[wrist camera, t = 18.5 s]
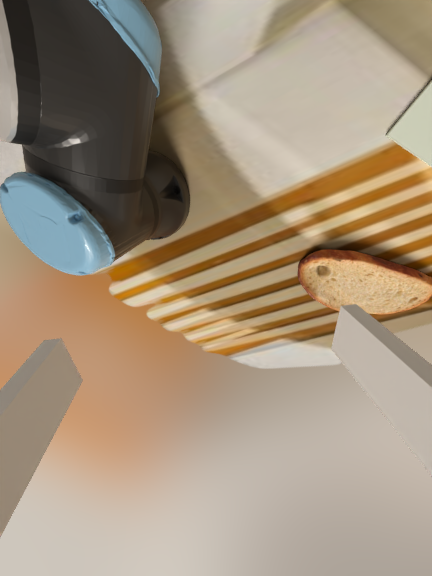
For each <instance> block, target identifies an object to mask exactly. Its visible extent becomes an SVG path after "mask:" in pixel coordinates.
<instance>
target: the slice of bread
mask: <svg viewBox="0 0 432 576" xmlns="http://www.w3.org/2000/svg"><path fill="white" fill-rule="evenodd" d="M298 279H299V281H300V283H301V285H302V286H303V288H304V289H305V290H306V291H307V293H308V294H309V295H310V296H311V297H312V298H313V299H315V300H317V301H318V302H320V303H322V304H323V305H325V306H327V307H330V308H332V309H335V310H338V311H340V308H341V306H344V305H352V304H357V305H358V306H359V307H360V308H362V309H363V310H364V311H365V312H367V313H372V314H373V313H374V314H390V313H396V312H400V311H405V310H410V309H412V308H414V307H416V306H419V305H421V304H422V303H424V302H426V301H428V300H429V298H430V297H431V296H432V277H430V276H427V275H426V274H424V273H421V272H419V271H417V270H415V269H413V268H409V267H407V266H404V265H400V264H396V263H393V262H390V261H387V260H384V259H381V258H378V257H375V256H372V255H368V254H364V253H360V252H356V251H351V250H347V251H343V250H333V249H324V250H319V251H316V252H314V253H311V254H309V255H308V256H307V257H306V258H304V259H303V260H301V261H300V262H299V265H298Z"/></svg>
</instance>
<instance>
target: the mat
mask: <svg viewBox="0 0 432 576" xmlns="http://www.w3.org/2000/svg"><path fill="white" fill-rule="evenodd" d="M385 136H387V137H388V138H390V139H391V140H393V141H394V142H395V143H397V144H398V145H400V146H401V147H403V148H404V149H406V150H407V151H408V152H410V153H411V154H413V155H414V156H416V157H417V158H419V159H420V160H421V161H423V162H424V163H426V164H427V165H429V166H430V167H432V80H431V81H430V82H429V84H428V85H427V86H426V87H425V89H424V90H423V91H422V92H421V93H420V95H419V96H418V97H417V98H416V99H415V101H414V102H413V103H412V104H411V105H410V107H409V108H408V109H407V110H406V111H405V113H404V114H403V115H402V116H401V117H400V119H399V120H398V121H397V122H396V123H395V125H394V126H393V127H392V128H391V129H390V131H389V132H388V133H387V134H386V135H385Z"/></svg>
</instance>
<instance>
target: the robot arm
mask: <svg viewBox="0 0 432 576" xmlns="http://www.w3.org/2000/svg"><path fill="white" fill-rule="evenodd" d="M161 56H162V44H161V39H160V36H159V31H158V28H157V26H156V23H155V21H154V19H153V18H152V16H151V14H150V13H149V11H148V10H147V8H146V7H145V6H144V4H143V3H142V2H141V1H140V0H0V141H4V142H9V143H16V144H22V147H23V154H24V161H25V168H26V172H17V173H14V174H13V175H12V176H10V177H8V178H6V179H5V181H4V183H3V184H2V185H1V187H0V204H1V207H2V210H3V213H4V215H5V217H6V219H7V221H8V223H9V225H10V226H11V228H12V229H13V231H14V232H15V234H16V235H17V236H18V237H19V239H20V240H21V241H22V242H23V243H24V244H25V245H26V246H27V247H28V248H29V249H30V251H31V252H33V253H34V254H35V255H36V256H37V257H38V258H40V259H41V260H42V261H44V262H45V263H47V264H48V265H50V266H52V267H54V268H55V269H58V270H60V271H62V272H65V273H69V274H73V275H87V274H91V273H93V272H95V271H97V270H99V269H101V268H103V267H107V266H109V265H111V264H112V262H114V261H115V260H117V259H118V258H120V257H121V256H123V255H124V254H126V253H127V252H128V251H130V250H131V249H133V248H134V247H136V246H137V245H139V244H140V243H142V242H144V241H145V240H150V239H153V240H155V239H163V238H166V237H169V236H171V235H172V234H174V233H175V232H176V231H178V230H179V229H180V228H181V227H182V226H183V224H184V223H185V221H186V219H187V216H188V213H189V207H190V198H189V191H188V187H187V184H186V182H185V179H184V177H183V176H182V174H181V172H180V171H179V169H178V168H177V167H176V166H175V165H174V163H172V162H171V161H170V160H169V159H168V158H166V157H165V156H163V155H161V154H159V153H157V152H154V151H149V144H150V138H151V131H152V124H153V117H154V110H155V103H156V97H158V96H159V93H160V88H159V74H160V65H161ZM331 349H332V350H333V352H334V353H335V354H336V356H337V357H338V358H339V359H340V361H341V362H342V363H343V364H344V366H345V367H346V368H347V370H348V371H349V372H350V373H351V375H352V376H353V377H354V378H355V380H356V381H357V382H358V383H359V385H360V386H361V387H362V389H363V390H364V391H365V392H366V394H367V395H368V396H369V397H370V399H371V400H372V401H373V402H374V404H375V405H376V406H377V408H378V409H379V410H380V411H381V413H382V414H383V415H384V417H385V418H386V419H387V420H388V422H389V423H390V424H391V426H392V427H393V428H394V429H395V430H396V432H397V433H398V434H399V436H400V437H401V438H402V439H403V441H404V442H405V443H406V445H407V446H408V447H409V448H410V450H411V451H412V452H413V453H414V455H415V456H416V457H417V459H418V460H419V461H420V462H421V463H422V465H423V466H424V467H425V469H426V470H427V471H428V472H429V474H430V475H431V476H432V365H431V364H430V363H429V362H427V361H426V360H425V359H424V358H423V357H421V356H420V355H419V354H418V353H416V352H415V351H413V349H411V348H410V347H409V346H408V345H406V344H405V343H404V342H403V341H401V340H400V339H399V338H398V337H396V336H395V335H394V334H393V333H391V332H390V331H389V330H388V329H387V328H385V327H384V326H383V325H382V324H380V323H379V322H378V321H377V320H375V319H374V318H373V317H372V316H370V315H369V314H368V313H367V312H365V311H364V310H363V309H362V308H360V307H359V306H358V305H357V304H352V305H344V306H341V308H340V312H339V317H338V321H337V326H336V330H335V335H334V339H333V344H332V348H331ZM81 383H82V378H81V376H80V374H79V372H78V370H77V368H76V366H75V364H74V362H73V360H72V358H71V357H70V354H69V353H68V351H67V349H66V347H65V345H64V343H63V341H62V339H53V340H44V341H43V342H42V343H41V344H40V346H39V347H38V348H37V349H36V350H35V351H34V353H33V354H32V355H31V356H30V357H29V358H28V359H27V360H26V362H25V363H24V364H23V365H22V366H21V367H20V368H19V369H18V371H17V372H16V373H15V374H14V375H13V376H12V378H11V379H10V380H9V381H8V382H7V383H6V384H5V385H4V387H3V388H2V389H1V390H0V537H1V535H2V533H3V531H4V529H5V527H6V525H7V523H8V522H9V520H10V518H11V516H12V514H13V512H14V510H15V508H16V506H17V504H18V503H19V501H20V498H21V497H22V495H23V493H24V491H25V489H26V487H27V486H28V484H29V482H30V480H31V478H32V476H33V474H34V472H35V470H36V468H37V466H38V465H39V463H40V461H41V459H42V457H43V455H44V453H45V451H46V449H47V447H48V446H49V444H50V442H51V440H52V438H53V436H54V434H55V432H56V430H57V428H58V426H59V425H60V423H61V421H62V419H63V417H64V415H65V413H66V411H67V409H68V407H69V405H70V403H71V402H72V400H73V398H74V396H75V394H76V392H77V390H78V388H79V387H80V385H81Z"/></svg>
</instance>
